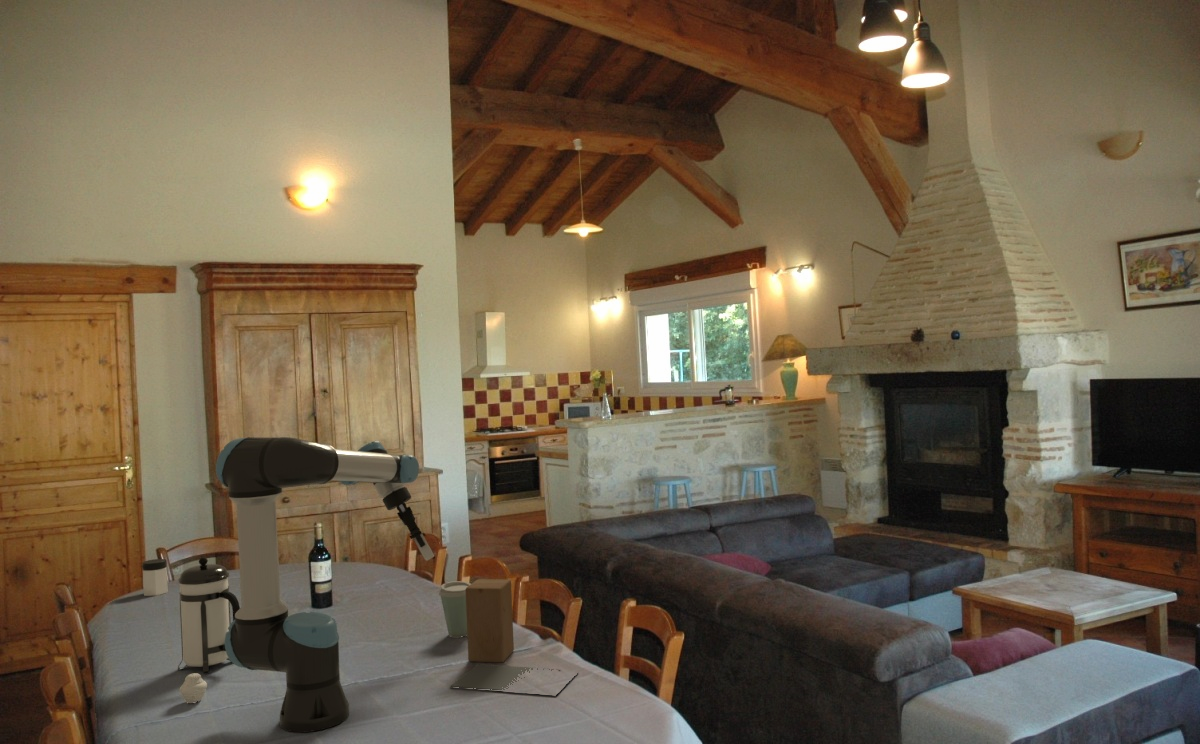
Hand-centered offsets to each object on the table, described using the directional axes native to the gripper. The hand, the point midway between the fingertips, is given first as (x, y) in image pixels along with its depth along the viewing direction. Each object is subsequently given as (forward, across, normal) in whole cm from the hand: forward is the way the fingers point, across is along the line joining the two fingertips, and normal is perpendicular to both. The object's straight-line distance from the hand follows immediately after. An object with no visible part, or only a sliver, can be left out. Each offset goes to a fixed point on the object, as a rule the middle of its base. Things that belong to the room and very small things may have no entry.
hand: (430, 557), depth 247 cm
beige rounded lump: (+2, -15, +65) cm, 67 cm away
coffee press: (-5, +11, +65) cm, 66 cm away
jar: (-45, +104, +93) cm, 147 cm away
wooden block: (+32, -3, -2) cm, 32 cm away
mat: (+38, -24, -4) cm, 45 cm away
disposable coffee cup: (+23, +19, +4) cm, 30 cm away
